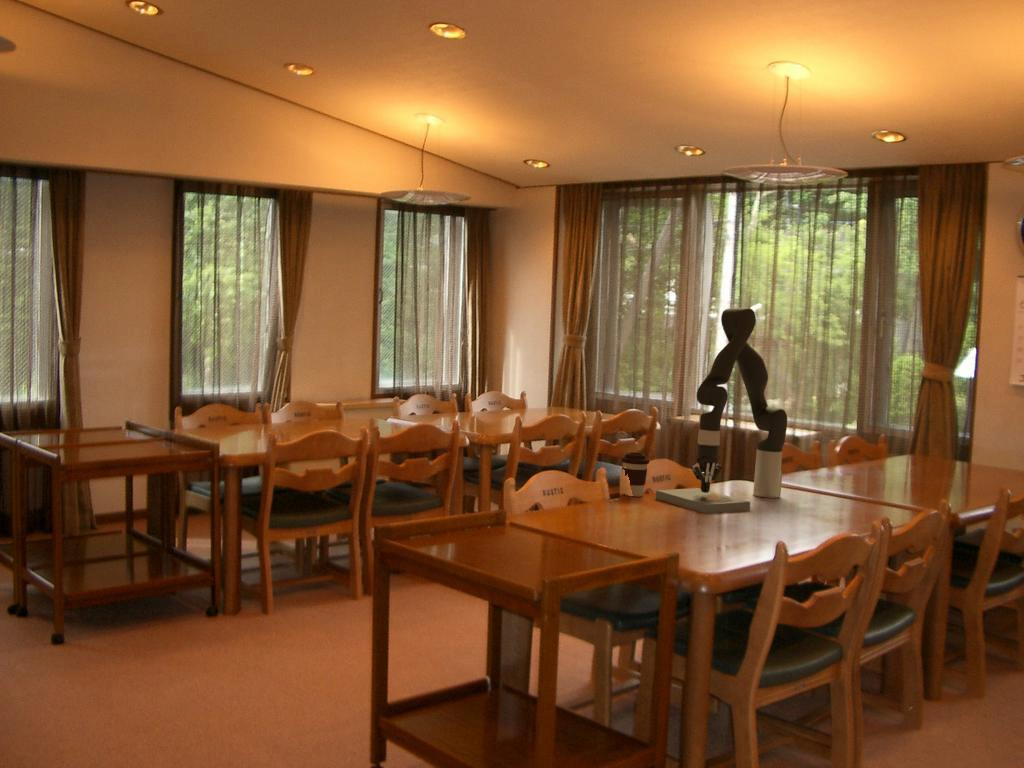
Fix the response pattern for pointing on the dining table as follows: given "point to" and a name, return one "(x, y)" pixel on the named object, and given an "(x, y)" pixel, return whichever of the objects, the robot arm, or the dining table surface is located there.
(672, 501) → the grey flat block
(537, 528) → the dining table surface
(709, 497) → the ball
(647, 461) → the coffee cup
